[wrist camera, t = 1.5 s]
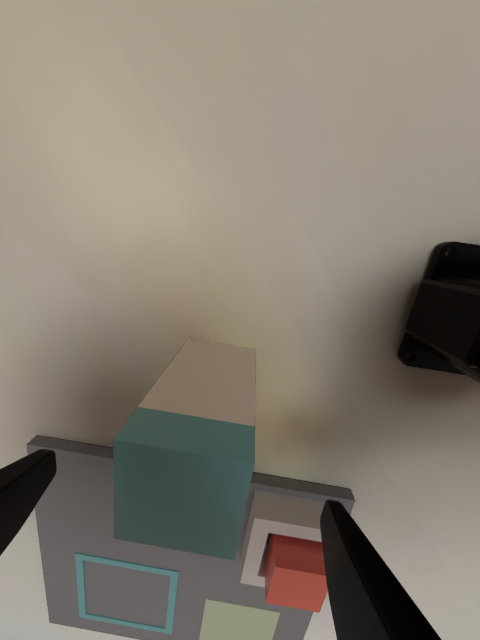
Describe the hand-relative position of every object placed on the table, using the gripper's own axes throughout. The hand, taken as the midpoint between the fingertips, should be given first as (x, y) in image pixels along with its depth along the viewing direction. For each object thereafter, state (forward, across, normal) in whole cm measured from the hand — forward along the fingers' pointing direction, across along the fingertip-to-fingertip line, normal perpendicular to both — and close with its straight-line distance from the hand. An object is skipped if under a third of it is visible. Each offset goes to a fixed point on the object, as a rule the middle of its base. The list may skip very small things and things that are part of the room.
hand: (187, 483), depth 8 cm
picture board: (+7, +1, +17) cm, 19 cm away
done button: (+5, -6, +11) cm, 13 cm away
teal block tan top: (+7, 0, 0) cm, 7 cm away
